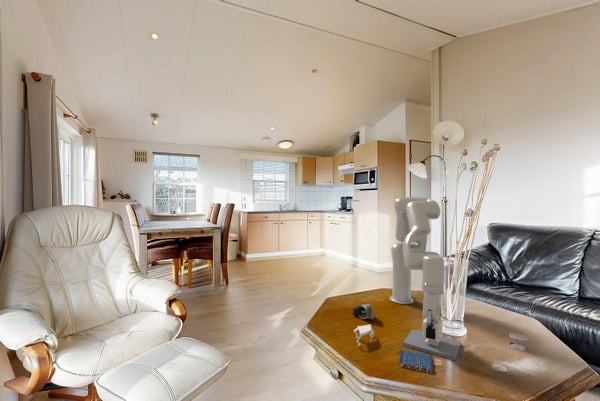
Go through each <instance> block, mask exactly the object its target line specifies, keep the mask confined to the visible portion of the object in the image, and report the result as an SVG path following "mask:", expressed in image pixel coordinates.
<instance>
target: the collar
mask: <svg viewBox="0 0 600 401" xmlns="http://www.w3.org/2000/svg"><path fill="white" fill-rule="evenodd" d="M431 320H434V318H431ZM426 322H427V317H426V319H422V324H421V326H422V327H421V328H422V330H421V331H422V338H426ZM431 323H432V324H433V322H432V321H431ZM443 324H444V323H443V319H440V318H439V319H437V321H435V328H434V329H435V340H434V341H437V342H440V340H441V338H442V337H443ZM426 339H429V338H426ZM430 340H433V339H430Z"/></svg>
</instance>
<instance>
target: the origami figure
mask: <svg viewBox="0 0 600 401" xmlns="http://www.w3.org/2000/svg"><path fill="white" fill-rule="evenodd" d="M356 327H357V328H355V329H354V330H353V332H354V334H355V335H356V336H355V339H357V340H356V343H357V344H358V345H357V347H359V346H361V345H362V344H361V343H360V342H359V341H360V339H361V337H362V336H364V335H368V334H369V333H370V334H369V337H370V339H369V340H370V342H371V343H372V342H373V341H372V338H373V337H374V336H375V334H374V333H375V331H374V329H373V326H372V325H371V324H366V325H357V326H356ZM357 331H359V335H358V333H357Z"/></svg>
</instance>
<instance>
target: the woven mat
mask: <svg viewBox="0 0 600 401" xmlns="http://www.w3.org/2000/svg"><path fill="white" fill-rule="evenodd" d="M398 366H399V367H401V368H403V367H404V368H406V369H407V368H408V369H409V370H410V369H411V370H414V369H415V371H416V372H418V371H420V372H421V371H422V372H426V373H430V374H433V373H434V363H433V356H432V354H429V353H426V352H424V353H423V352H418V351H414V350H408V349H401V350H400V355H399V364H398Z"/></svg>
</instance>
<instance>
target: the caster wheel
mask: <svg viewBox="0 0 600 401" xmlns="http://www.w3.org/2000/svg"><path fill="white" fill-rule="evenodd" d="M352 314H353V315H357V317H358V318H359V319H360V320H372V321H373V319H375V318H374V309H373V303H370V304H357V306H355V307H352Z"/></svg>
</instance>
